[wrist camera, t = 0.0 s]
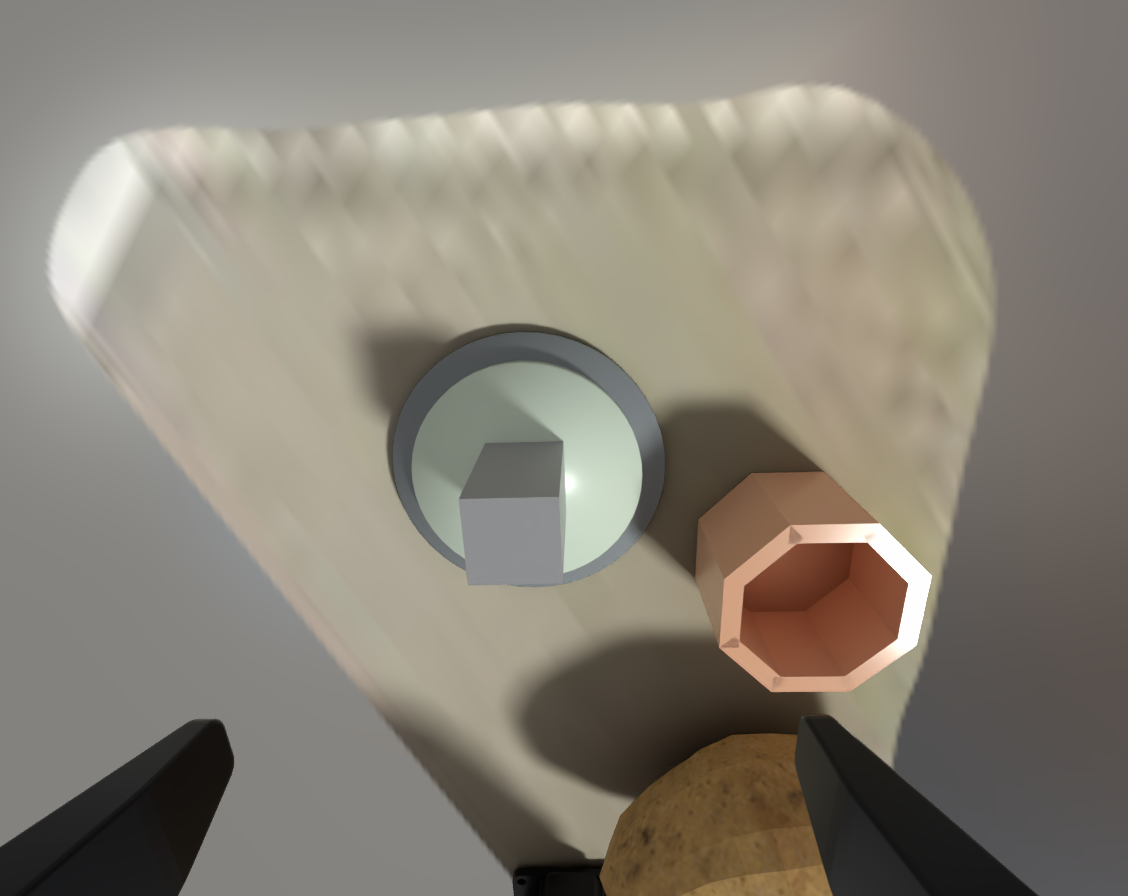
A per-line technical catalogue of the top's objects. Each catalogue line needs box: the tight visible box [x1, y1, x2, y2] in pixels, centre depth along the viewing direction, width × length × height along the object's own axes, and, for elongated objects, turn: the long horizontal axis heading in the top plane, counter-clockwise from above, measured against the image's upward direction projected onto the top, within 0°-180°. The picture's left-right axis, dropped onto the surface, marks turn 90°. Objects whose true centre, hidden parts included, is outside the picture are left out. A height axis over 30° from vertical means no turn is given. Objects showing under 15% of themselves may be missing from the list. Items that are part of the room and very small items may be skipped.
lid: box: [412, 360, 642, 585], centre depth 20 cm, size 9×9×6 cm
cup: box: [695, 471, 931, 692], centre depth 22 cm, size 7×7×4 cm
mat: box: [392, 332, 665, 587], centre depth 23 cm, size 11×11×1 cm
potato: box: [599, 733, 833, 896], centre depth 25 cm, size 10×14×8 cm
